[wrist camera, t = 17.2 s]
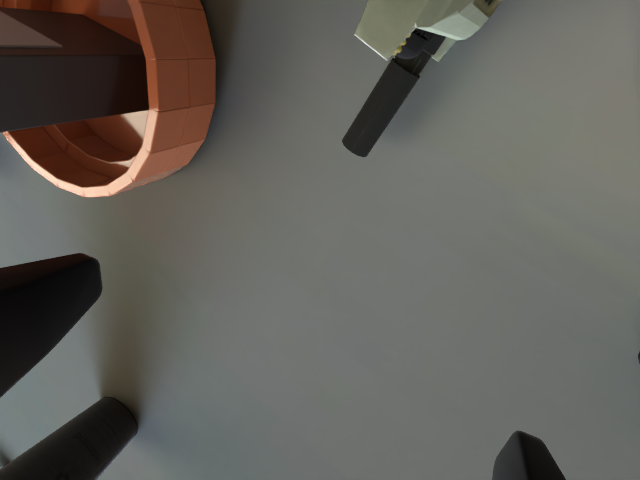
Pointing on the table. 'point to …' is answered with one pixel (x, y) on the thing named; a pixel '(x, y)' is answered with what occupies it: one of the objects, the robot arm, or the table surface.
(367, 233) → the table surface
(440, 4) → the handheld radio
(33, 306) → the robot arm
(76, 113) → the remote
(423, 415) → the table surface
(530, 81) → the table surface
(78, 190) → the bowl
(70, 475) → the drinking cup
